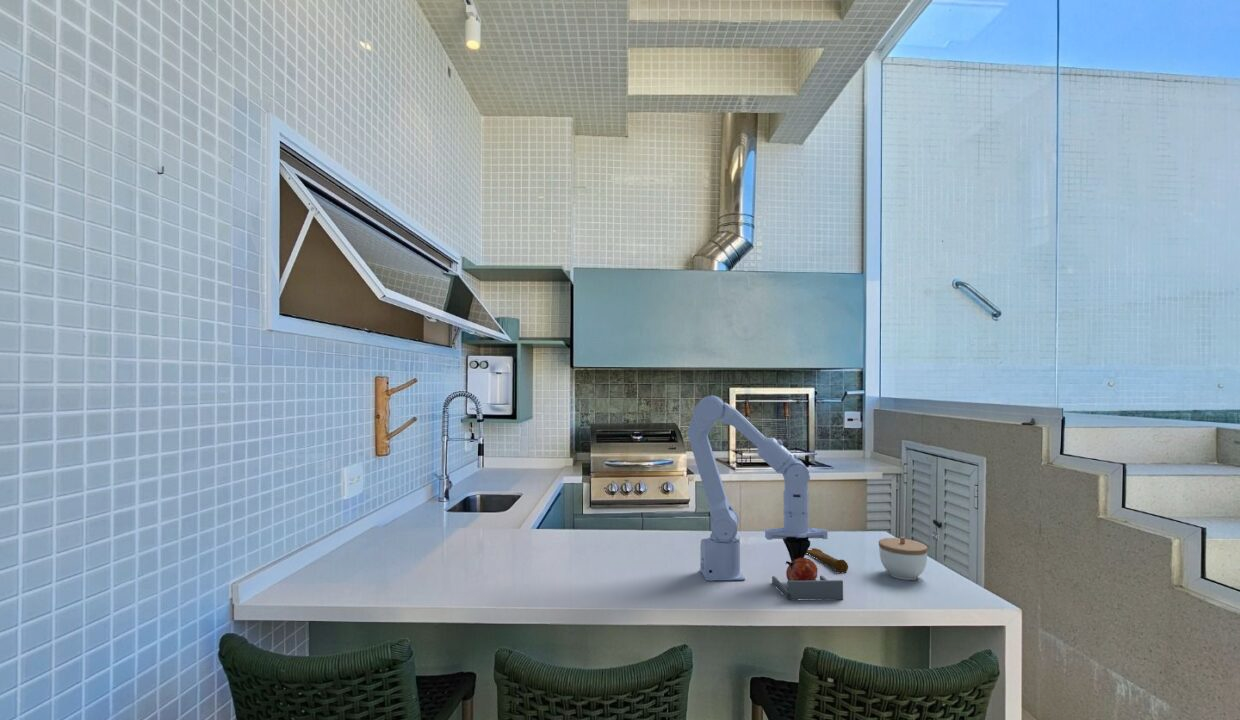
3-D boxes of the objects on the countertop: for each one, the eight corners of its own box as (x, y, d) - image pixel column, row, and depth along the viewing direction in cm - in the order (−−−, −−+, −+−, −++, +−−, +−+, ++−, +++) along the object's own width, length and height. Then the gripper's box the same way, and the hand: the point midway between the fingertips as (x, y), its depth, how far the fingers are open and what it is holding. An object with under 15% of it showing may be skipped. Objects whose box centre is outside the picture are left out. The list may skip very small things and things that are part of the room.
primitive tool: (798, 551, 156) (798, 539, 156) (816, 551, 157) (816, 538, 157) (836, 575, 137) (836, 561, 137) (856, 574, 138) (856, 560, 138)
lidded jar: (870, 569, 140) (869, 531, 141) (909, 567, 141) (908, 530, 142) (896, 584, 130) (895, 544, 130) (938, 582, 131) (937, 542, 131)
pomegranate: (809, 592, 130) (774, 565, 131) (829, 570, 128) (794, 542, 130) (813, 609, 122) (776, 579, 124) (834, 585, 121) (797, 555, 122)
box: (788, 600, 119) (788, 581, 120) (772, 582, 130) (772, 565, 130) (843, 599, 120) (842, 580, 120) (822, 581, 131) (822, 564, 131)
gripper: (771, 515, 127) (772, 575, 127) (833, 515, 128) (833, 574, 127) (762, 508, 134) (762, 565, 134) (820, 508, 135) (820, 564, 135)
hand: (796, 569), depth 131 cm, fingers closed, pressing on pomegranate
